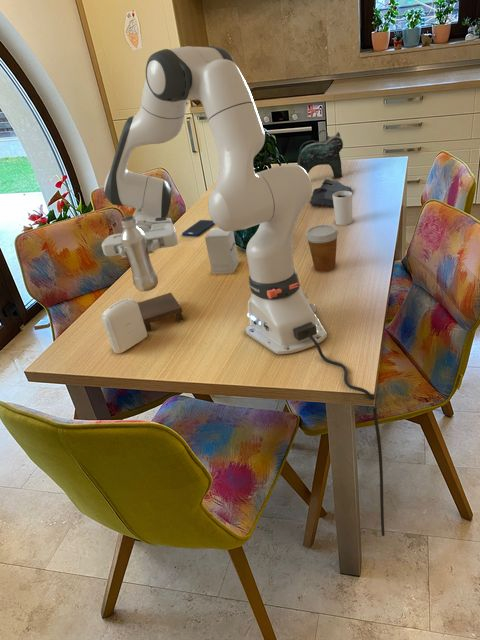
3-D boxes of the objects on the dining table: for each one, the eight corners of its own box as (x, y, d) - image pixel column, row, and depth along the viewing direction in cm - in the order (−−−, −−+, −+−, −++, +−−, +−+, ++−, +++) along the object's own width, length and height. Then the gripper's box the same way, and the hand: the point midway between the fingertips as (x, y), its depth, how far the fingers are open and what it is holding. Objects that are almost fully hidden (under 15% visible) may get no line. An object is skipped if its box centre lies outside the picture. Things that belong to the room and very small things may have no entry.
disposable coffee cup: (346, 262, 171) (343, 225, 164) (331, 276, 165) (328, 238, 158) (318, 259, 176) (315, 222, 169) (303, 272, 170) (299, 235, 163)
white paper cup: (333, 226, 197) (331, 198, 191) (335, 219, 202) (333, 191, 197) (353, 224, 195) (351, 196, 190) (353, 217, 201) (352, 190, 195)
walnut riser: (184, 320, 156) (181, 307, 153) (146, 332, 153) (142, 320, 151) (173, 304, 164) (170, 292, 162) (137, 316, 161) (133, 303, 159)
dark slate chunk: (304, 209, 214) (302, 197, 212) (315, 190, 232) (314, 178, 229) (344, 208, 210) (343, 195, 207) (352, 188, 227) (352, 176, 224)
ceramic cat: (343, 173, 245) (340, 125, 234) (346, 177, 240) (343, 128, 229) (298, 180, 245) (293, 133, 235) (300, 185, 240) (295, 136, 229)
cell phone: (181, 235, 210) (181, 233, 209) (201, 221, 220) (200, 219, 219) (197, 236, 207) (197, 234, 206) (217, 222, 216) (216, 220, 216)
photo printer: (119, 355, 145) (105, 314, 138) (110, 351, 147) (95, 310, 140) (150, 336, 151) (138, 295, 144) (140, 332, 153) (128, 292, 146)
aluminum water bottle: (164, 284, 153) (146, 214, 142) (147, 296, 149) (127, 224, 138) (148, 281, 157) (128, 212, 146) (130, 292, 152) (109, 222, 142)
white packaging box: (234, 273, 176) (227, 235, 169) (211, 274, 178) (203, 237, 171) (239, 263, 182) (233, 226, 175) (217, 264, 184) (210, 227, 177)
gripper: (103, 228, 156) (94, 247, 145) (176, 216, 156) (172, 235, 144) (110, 249, 160) (101, 270, 148) (181, 238, 159) (177, 257, 148)
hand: (137, 252), depth 146 cm, fingers closed on aluminum water bottle, 6 cm apart
